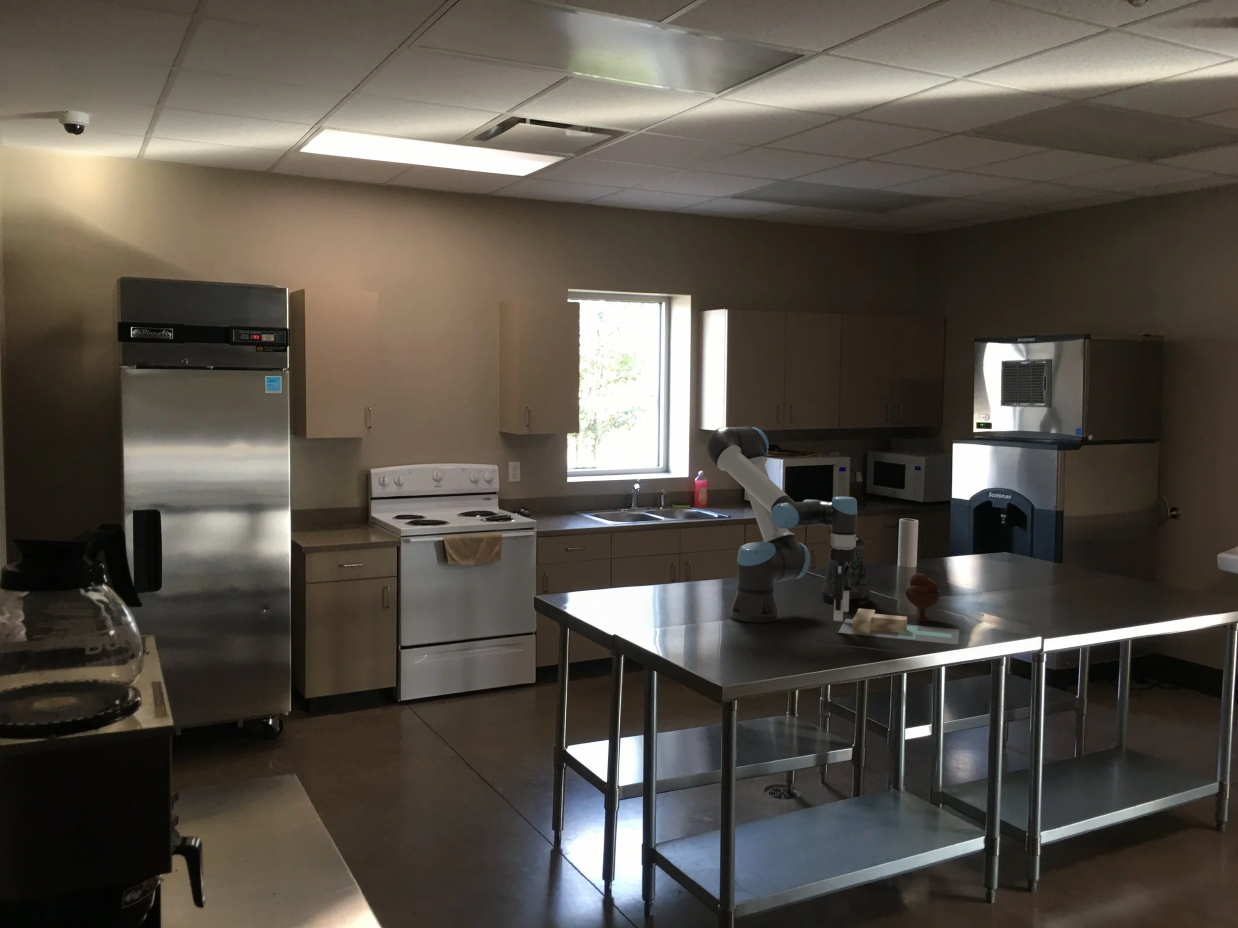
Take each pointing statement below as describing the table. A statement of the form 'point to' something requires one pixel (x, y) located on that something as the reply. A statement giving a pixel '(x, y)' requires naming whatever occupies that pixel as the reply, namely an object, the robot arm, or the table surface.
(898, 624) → the t block
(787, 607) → the table surface
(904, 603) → the table surface
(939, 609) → the table surface
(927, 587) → the ice cream bowl
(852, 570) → the beer stein
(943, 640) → the push board
